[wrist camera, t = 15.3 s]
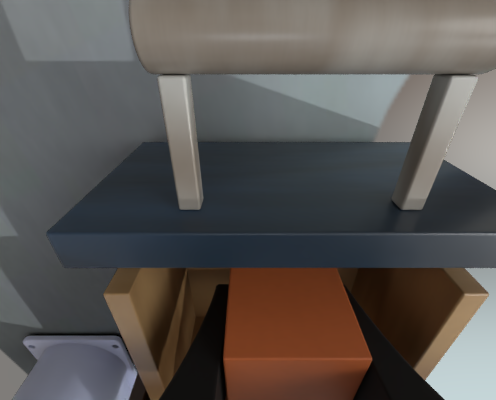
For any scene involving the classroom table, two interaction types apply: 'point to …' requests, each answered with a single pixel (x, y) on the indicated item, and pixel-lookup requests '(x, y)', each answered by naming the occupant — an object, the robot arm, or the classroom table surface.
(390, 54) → the drawer
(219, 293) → the robot arm
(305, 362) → the block
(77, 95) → the classroom table surface
